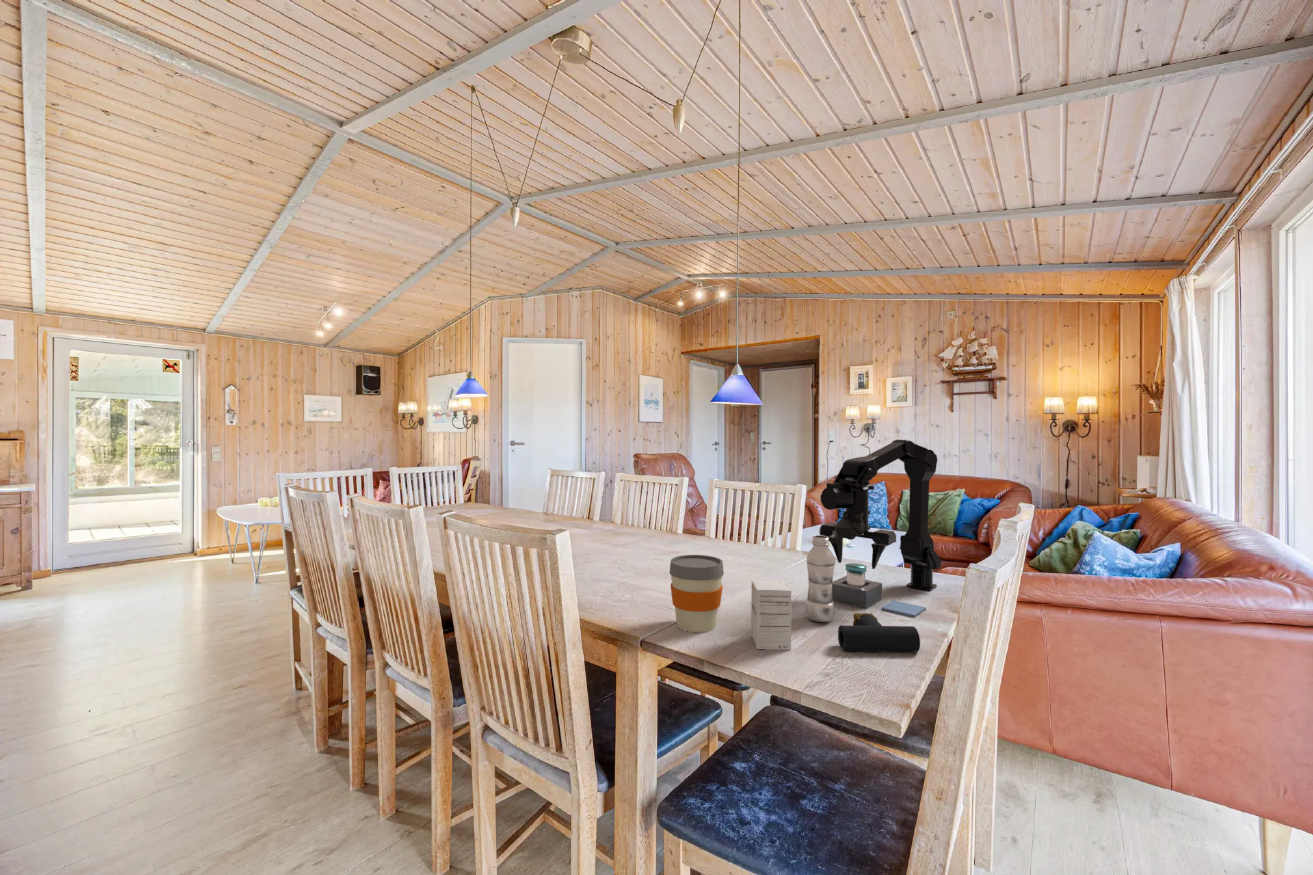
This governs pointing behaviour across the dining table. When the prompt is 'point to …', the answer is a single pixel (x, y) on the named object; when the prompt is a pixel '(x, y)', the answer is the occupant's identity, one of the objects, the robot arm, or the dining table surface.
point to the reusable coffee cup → (696, 591)
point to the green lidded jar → (856, 574)
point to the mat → (903, 608)
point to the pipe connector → (877, 636)
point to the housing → (857, 593)
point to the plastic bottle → (820, 580)
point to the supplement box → (771, 615)
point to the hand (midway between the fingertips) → (856, 565)
